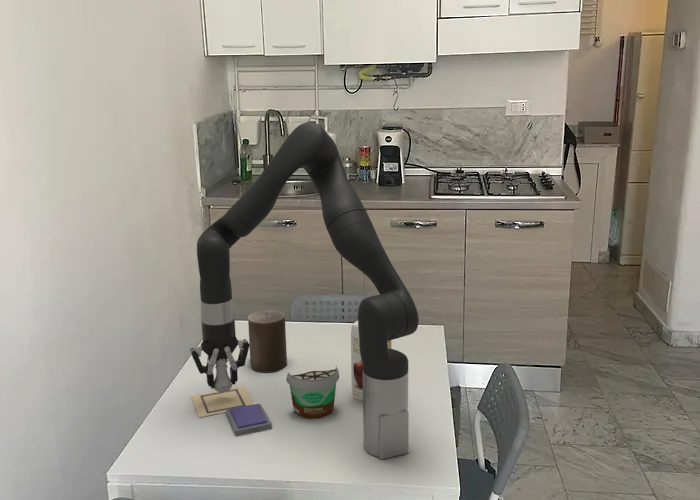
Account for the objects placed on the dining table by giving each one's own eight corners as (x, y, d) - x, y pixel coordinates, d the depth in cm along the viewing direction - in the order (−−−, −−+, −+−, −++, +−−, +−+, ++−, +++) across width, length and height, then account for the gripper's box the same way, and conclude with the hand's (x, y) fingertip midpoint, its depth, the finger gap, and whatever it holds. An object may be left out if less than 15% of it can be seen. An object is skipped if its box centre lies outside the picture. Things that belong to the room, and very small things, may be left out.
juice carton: (363, 385, 169) (363, 313, 164) (394, 393, 165) (395, 320, 159) (348, 398, 163) (347, 324, 158) (379, 407, 158) (379, 331, 153)
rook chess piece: (216, 383, 164) (214, 352, 162) (234, 384, 163) (232, 353, 161) (210, 392, 160) (208, 361, 157) (229, 393, 159) (227, 361, 157)
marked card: (255, 406, 159) (255, 405, 159) (199, 417, 155) (199, 416, 155) (244, 386, 169) (244, 385, 169) (191, 396, 165) (191, 395, 165)
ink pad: (272, 428, 150) (271, 421, 149) (236, 436, 147) (235, 429, 147) (260, 407, 159) (260, 401, 158) (226, 414, 156) (225, 408, 156)
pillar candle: (285, 372, 177) (283, 317, 173) (247, 372, 177) (244, 318, 173) (288, 357, 186) (286, 305, 182) (252, 357, 186) (250, 305, 182)
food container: (292, 425, 151) (290, 384, 148) (287, 412, 157) (285, 372, 154) (346, 417, 154) (345, 376, 152) (339, 404, 160) (338, 365, 157)
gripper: (244, 307, 162) (248, 373, 167) (183, 316, 158) (189, 383, 162) (252, 318, 156) (256, 386, 160) (188, 328, 151) (194, 397, 156)
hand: (222, 384), depth 161 cm, fingers closed on rook chess piece, 4 cm apart
